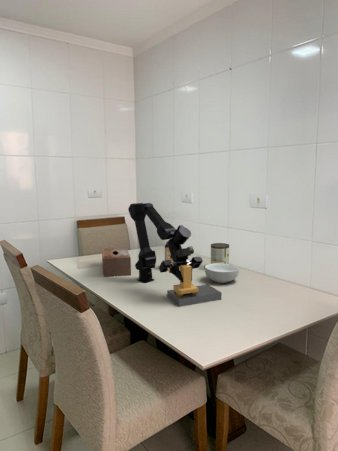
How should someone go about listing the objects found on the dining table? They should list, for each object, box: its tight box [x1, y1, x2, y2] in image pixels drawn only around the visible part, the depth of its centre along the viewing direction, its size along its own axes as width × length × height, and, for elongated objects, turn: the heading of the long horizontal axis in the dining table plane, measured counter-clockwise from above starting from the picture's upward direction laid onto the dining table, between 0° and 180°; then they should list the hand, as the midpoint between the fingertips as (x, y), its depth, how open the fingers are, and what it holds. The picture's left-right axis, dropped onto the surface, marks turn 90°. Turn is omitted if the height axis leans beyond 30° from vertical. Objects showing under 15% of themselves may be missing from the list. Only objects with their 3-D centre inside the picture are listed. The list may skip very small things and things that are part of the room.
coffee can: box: [210, 242, 230, 264], centre depth 196 cm, size 10×10×14 cm
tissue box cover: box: [101, 247, 132, 278], centre depth 198 cm, size 26×14×10 cm, turn 11°
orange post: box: [172, 265, 199, 296], centre depth 150 cm, size 8×8×13 cm
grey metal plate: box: [166, 284, 222, 307], centre depth 152 cm, size 12×20×3 cm, turn 114°
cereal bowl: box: [204, 263, 240, 284], centre depth 177 cm, size 17×17×7 cm
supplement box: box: [164, 247, 180, 271], centre depth 198 cm, size 8×5×13 cm, turn 105°
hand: (187, 281), depth 149 cm, fingers closed on orange post, 4 cm apart
